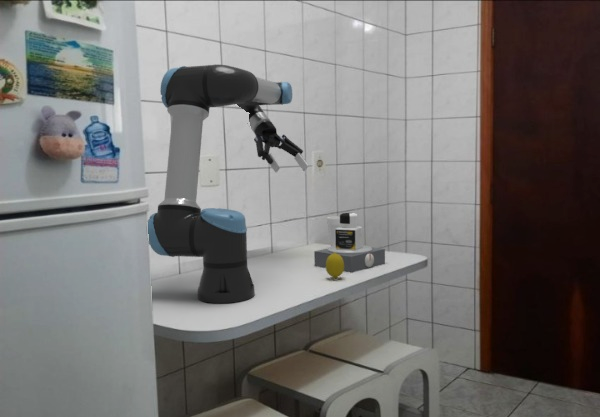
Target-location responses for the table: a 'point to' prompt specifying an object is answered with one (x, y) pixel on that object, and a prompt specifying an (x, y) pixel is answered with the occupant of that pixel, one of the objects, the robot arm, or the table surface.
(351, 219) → the medicine bottle
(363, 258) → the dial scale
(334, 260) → the lemon
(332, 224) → the clear plastic beaker
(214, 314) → the table surface
